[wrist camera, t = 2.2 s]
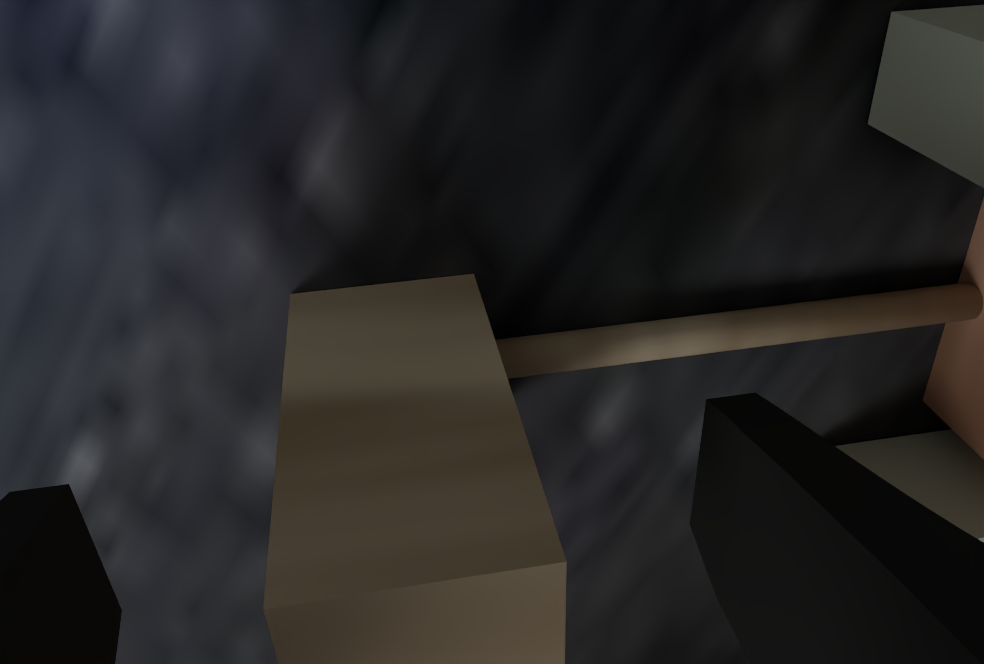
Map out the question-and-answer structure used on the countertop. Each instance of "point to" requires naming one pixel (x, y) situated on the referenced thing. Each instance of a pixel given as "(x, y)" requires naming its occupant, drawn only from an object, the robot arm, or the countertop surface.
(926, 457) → the pale green u-shape
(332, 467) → the corded block
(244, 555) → the countertop surface
